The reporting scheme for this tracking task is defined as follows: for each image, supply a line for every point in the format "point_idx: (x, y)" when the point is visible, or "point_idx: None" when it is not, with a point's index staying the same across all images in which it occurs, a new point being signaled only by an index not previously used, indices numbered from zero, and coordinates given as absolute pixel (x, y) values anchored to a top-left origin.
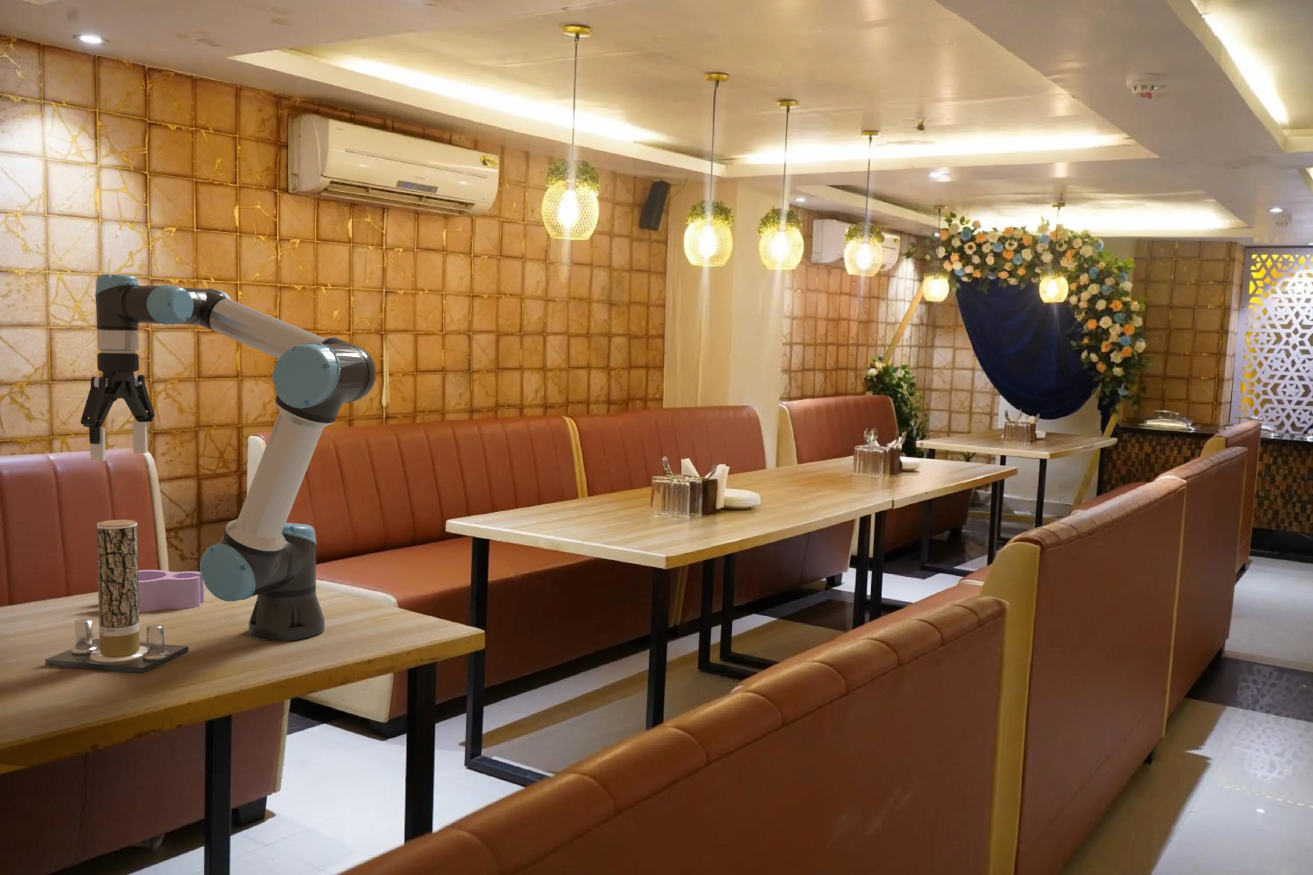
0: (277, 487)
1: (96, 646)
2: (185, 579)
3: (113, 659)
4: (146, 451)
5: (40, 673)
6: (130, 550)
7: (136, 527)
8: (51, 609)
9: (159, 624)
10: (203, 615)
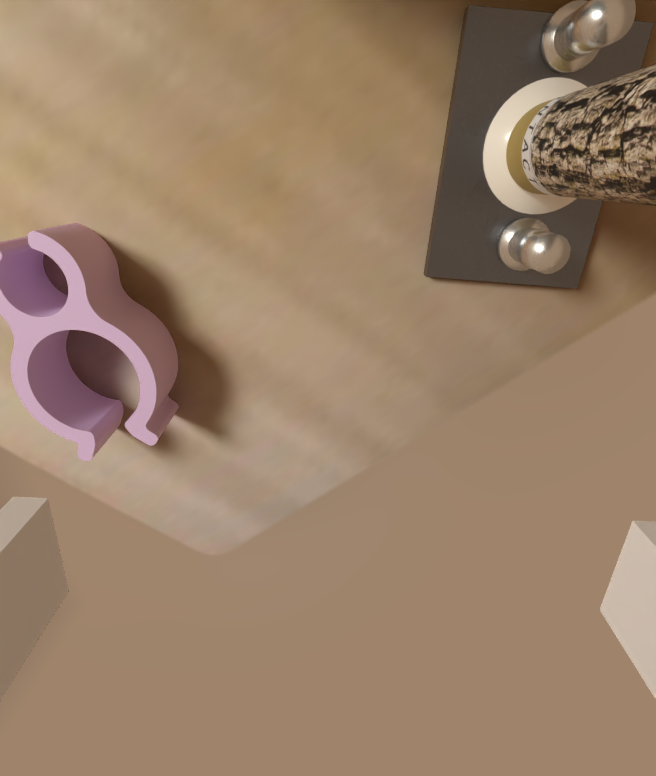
0: None
1: (517, 223)
2: (72, 256)
3: None
4: (21, 507)
5: (620, 264)
6: None
7: None
8: (206, 497)
9: (590, 14)
10: (148, 164)
